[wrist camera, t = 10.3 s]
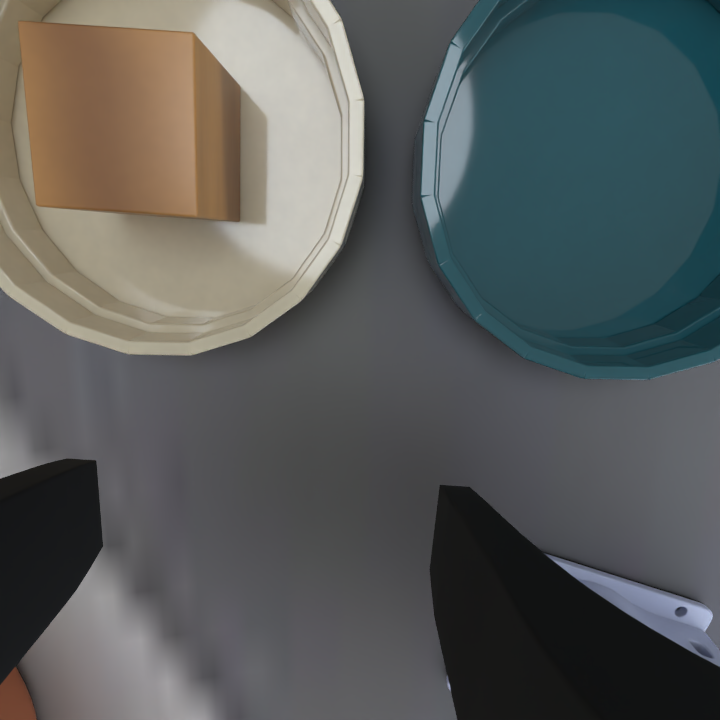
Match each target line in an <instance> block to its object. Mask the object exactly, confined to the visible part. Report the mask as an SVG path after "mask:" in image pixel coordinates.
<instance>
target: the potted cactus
mask: <svg viewBox="0 0 720 720" xmlns="http://www.w3.org/2000/svg"><path fill="white" fill-rule="evenodd" d="M0 720H37V718H36V713H35V709H34V706H33V703H32V700H31V697H30V695H29V692H28V690H27V688H26V685H25V683H24V681H23V679H22V677H21V675H20V674H19V672H18V670H17V668H16V667H15V668H14V669H13V670H12V671H11V672H10V674H9V675H8V676H7V677H6V679H5V680H4V681H3V682H2V684H1V685H0Z"/></svg>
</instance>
